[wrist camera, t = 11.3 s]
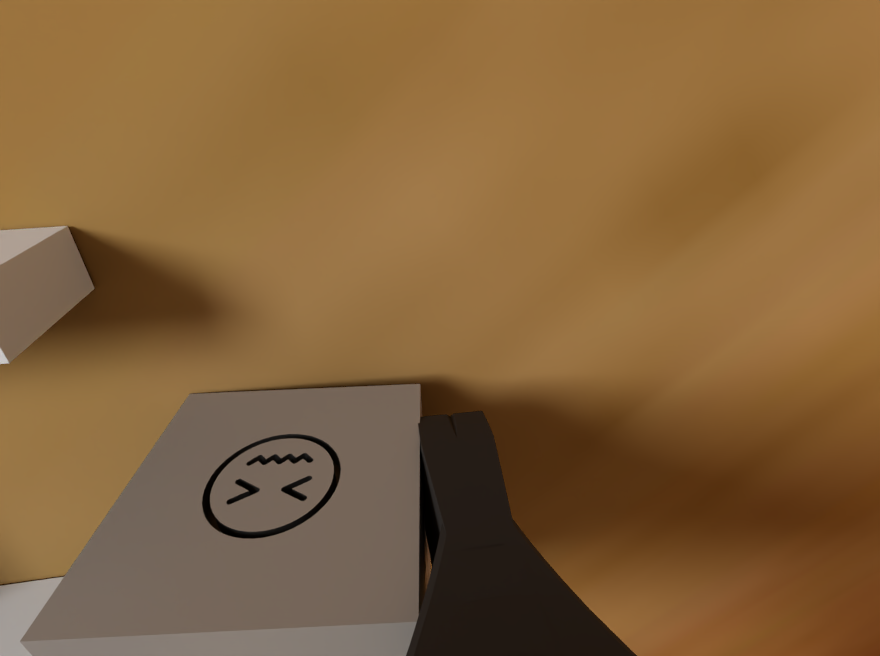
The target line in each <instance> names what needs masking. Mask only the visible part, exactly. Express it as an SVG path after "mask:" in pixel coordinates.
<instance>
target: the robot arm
mask: <svg viewBox="0 0 880 656" xmlns="http://www.w3.org/2000/svg"><path fill="white" fill-rule="evenodd" d="M418 428H419V436H420V449H421V465H422V481H423V497H424V513H425V531H426V537H427V542H428V548H429V553H430V558H431V563H432V570H431V574H430V578H429V581H428V585H427V589H426V593H425V596H424V600H423V603H422V606H421V610H420V613H419V616H418V619H417V623H416V626H415V629H414V633H413V636H412V639H411V642H410V645H409V648H408V651H407V654H406V656H637V655H636V654H634V653H633V652H632V651H631V650H630V649H629V648H628V647H627V646H626V645H625V644H624V643H623V642H622V641H621V640H620V639H619V638H618V637H617V636H616V635H615V634H614V633H613V632H612V631H611V630H610V629H609V628H608V627H607V626H606V625H605V624H604V623H603V622H602V621H601V620H600V619H599V618H598V617H597V616H596V615H595V614H594V613H593V612H592V611H591V610H590V609H589V608H588V607H587V606H586V605H585V604H584V603H583V602H582V600H581V599H580V598H579V597H578V596H577V595H576V594H575V593H574V592H573V591H572V590H571V589H570V587H569V586H568V585H567V584H566V583H565V582H564V581H563V580H562V579H561V578H560V576H559V575H558V574H557V573H556V572H555V571H554V569H553V568H552V567H551V566H550V565H549V564H548V563H547V561H546V560H545V559H544V558H543V557H542V555H541V554H540V553H539V552H538V551H537V549H536V548H535V547H534V546H533V545H532V543H531V542H530V541H529V539H528V538H527V537H526V536H525V534H524V533H523V532H522V531H521V529H520V528H519V527H518V525H517V524H516V523H515V521H514V520H513V519H512V516H511V511H510V507H509V502H508V498H507V493H506V489H505V484H504V480H503V475H502V471H501V466H500V462H499V458H498V453H497V449H496V444H495V440H494V436H493V434H492V431H491V429H490V426H489V424H488V422H487V420H486V418H485V416H484V414H483V412H482V411H476V412H466V413H455V414H453V415H451V416H450V417H449V416H448V415H447V414H445V415H434V416H424V417H420V423H418Z"/></svg>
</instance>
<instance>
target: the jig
mask: <svg viewBox="0 0 880 656" xmlns="http://www.w3.org/2000/svg"><path fill="white" fill-rule="evenodd" d="M94 289H95V288H94V286H93V283H92V281H91V279H90V277H89V274H88V272H87V270H86V267H85V265H84V263H83V260H82V258H81V256H80V253H79V251H78V249H77V246H76V244H75V242H74V240H73V237H72V235H71V233H70V230H69V228H68V226H60V227H44V228H29V229H14V230H0V364H6V363H10V362H11V361H12V360H14V359H15V358H16V357H17V356H18V355H19V354H20V353H22V352H23V351H24V350H25V349H26V348H27V347H28V346H30V345H31V344H32V343H33V342H34V341H35V340H36V339H38V338H39V337H40V336H41V335H42V334H43V333H44V332H46V331H47V330H48V329H49V328H50V327H51V326H52V325H54V324H55V323H56V322H57V321H58V320H59V319H60V318H62V317H63V316H64V315H65V314H66V313H67V312H68V311H70V310H71V309H72V308H73V307H74V306H75V305H76V304H78V303H79V302H80V301H81V300H82V299H83V298H84V297H86V296H87V295H88V294H89V293H90V292H91V291H92V290H94ZM63 578H64V577H58V578H51V579H44V580H37V581H30V582H23V583H16V584H9V585H2V586H0V656H32V655H31V654H30V653H29V651H28V650H27V649H26V648H25V647H24V646H23V645H22V644H21V642H20V640H21V639H22V637H23V636H24V635H25V633H26V632H27V630H28V629H29V627H30V626H31V624H32V623H33V621H34V620H35V619H36V617H37V616H38V614H39V613H40V611H41V610H42V608H43V607H44V605H45V604H46V603H47V601H48V600H49V598H50V597H51V595H52V594H53V592H54V591H55V589H56V588H57V586H58V585H59V584H60V582H61V581H62V579H63Z"/></svg>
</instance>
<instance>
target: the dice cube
mask: <svg viewBox="0 0 880 656" xmlns="http://www.w3.org/2000/svg"><path fill="white" fill-rule="evenodd" d="M420 417H422V403H421V387H420V384H403V385H381V386H358V387H335V388H312V389H290V390H267V391H244V392H221V393H199V394H189V396H188V397H187V399H186V400H185V401H184V403H183V404H182V406H181V407H180V409H179V410H178V412H177V413H176V415H175V416H174V417H173V419H172V420H171V422H170V423H169V425H168V426H167V428H166V429H165V431H164V432H163V433H162V435H161V436H160V438H159V439H158V441H157V442H156V444H155V445H154V447H153V448H152V450H151V451H150V452H149V454H148V455H147V457H146V458H145V460H144V461H143V463H142V464H141V466H140V467H139V468H138V470H137V471H136V473H135V474H134V476H133V477H132V479H131V480H130V482H129V483H128V484H127V486H126V487H125V489H124V490H123V492H122V493H121V495H120V496H119V498H118V499H117V501H116V502H115V503H114V505H113V506H112V508H111V509H110V511H109V512H108V514H107V515H106V517H105V518H104V519H103V521H102V522H101V524H100V525H99V527H98V528H97V530H96V531H95V533H94V534H93V535H92V537H91V538H90V540H89V541H88V543H87V544H86V546H85V547H84V549H83V550H82V552H81V553H80V554H79V556H78V557H77V559H76V560H75V562H74V563H73V565H72V566H71V568H70V569H69V570H68V572H67V573H66V575H65V576H64V578H63V579H62V581H61V582H60V584H59V585H58V586H57V588H56V589H55V591H54V592H53V594H52V595H51V597H50V598H49V600H48V601H47V603H46V604H45V605H44V607H43V608H42V610H41V611H40V613H39V614H38V616H37V617H36V619H35V620H34V621H33V623H32V624H31V626H30V627H29V629H28V630H27V632H26V633H25V635H24V636H23V637H22V639H21V640H20V642H21V644H22V645H23V646H24V647H25V648H26V649H27V650H28V651H29V653H30V654H31V655H32V656H406V654H407V651H408V648H409V645H410V642H411V639H412V636H413V633H414V629H415V626H416V623H417V619H418V616H419V613H420V610H421V606H422V603H423V600H424V596H425V593H426V589H427V585H428V581H429V578H430V553H429V548H428V542H427V537H426V531H425V513H424V497H423V481H422V465H421V449H420V436H419V428H418V423H420Z"/></svg>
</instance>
